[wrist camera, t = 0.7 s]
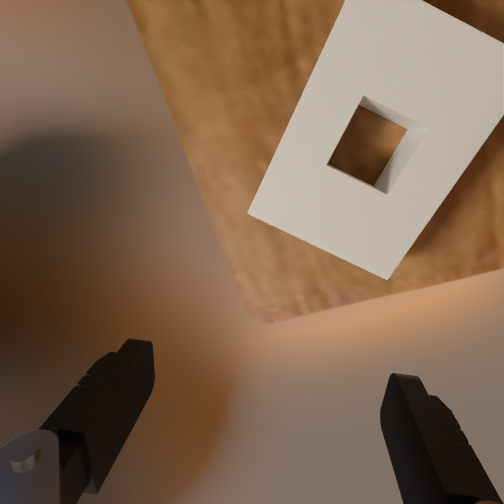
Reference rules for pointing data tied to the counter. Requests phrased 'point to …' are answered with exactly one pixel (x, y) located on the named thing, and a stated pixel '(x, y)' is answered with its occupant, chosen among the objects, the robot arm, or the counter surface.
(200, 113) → the counter surface
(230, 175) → the counter surface
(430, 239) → the counter surface
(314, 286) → the counter surface
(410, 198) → the socket board
